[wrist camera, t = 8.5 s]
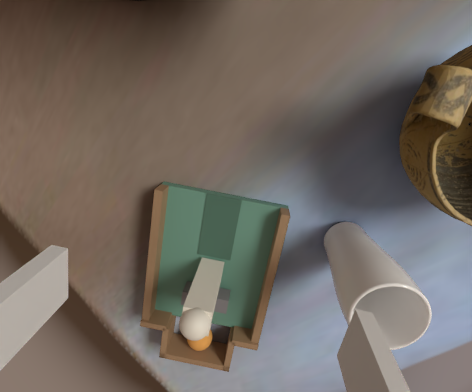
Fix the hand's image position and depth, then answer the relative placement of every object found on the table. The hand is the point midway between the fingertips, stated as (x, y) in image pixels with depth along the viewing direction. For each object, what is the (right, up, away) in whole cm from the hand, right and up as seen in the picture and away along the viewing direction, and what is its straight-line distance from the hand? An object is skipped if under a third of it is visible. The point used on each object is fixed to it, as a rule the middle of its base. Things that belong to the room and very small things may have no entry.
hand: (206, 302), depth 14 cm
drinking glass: (+15, -1, +26) cm, 30 cm away
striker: (-2, -6, +27) cm, 28 cm away
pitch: (-2, -6, +29) cm, 29 cm away
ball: (-4, -15, +30) cm, 34 cm away
